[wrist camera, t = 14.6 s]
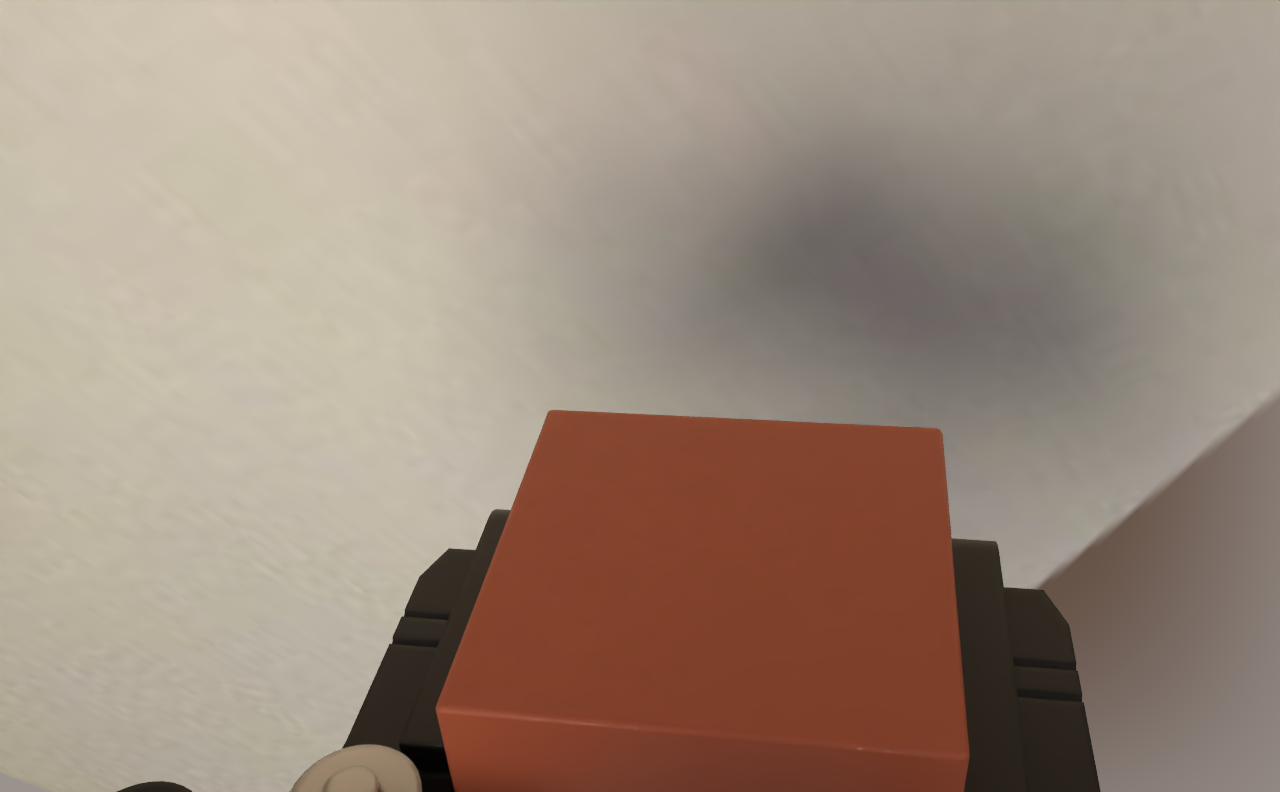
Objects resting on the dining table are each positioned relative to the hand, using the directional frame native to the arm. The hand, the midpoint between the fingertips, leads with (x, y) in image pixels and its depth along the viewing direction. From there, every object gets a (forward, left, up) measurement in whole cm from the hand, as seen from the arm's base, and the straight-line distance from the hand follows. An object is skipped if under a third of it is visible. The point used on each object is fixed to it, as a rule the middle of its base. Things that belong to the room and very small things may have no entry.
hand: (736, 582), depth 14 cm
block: (0, 0, 0) cm, 0 cm away
